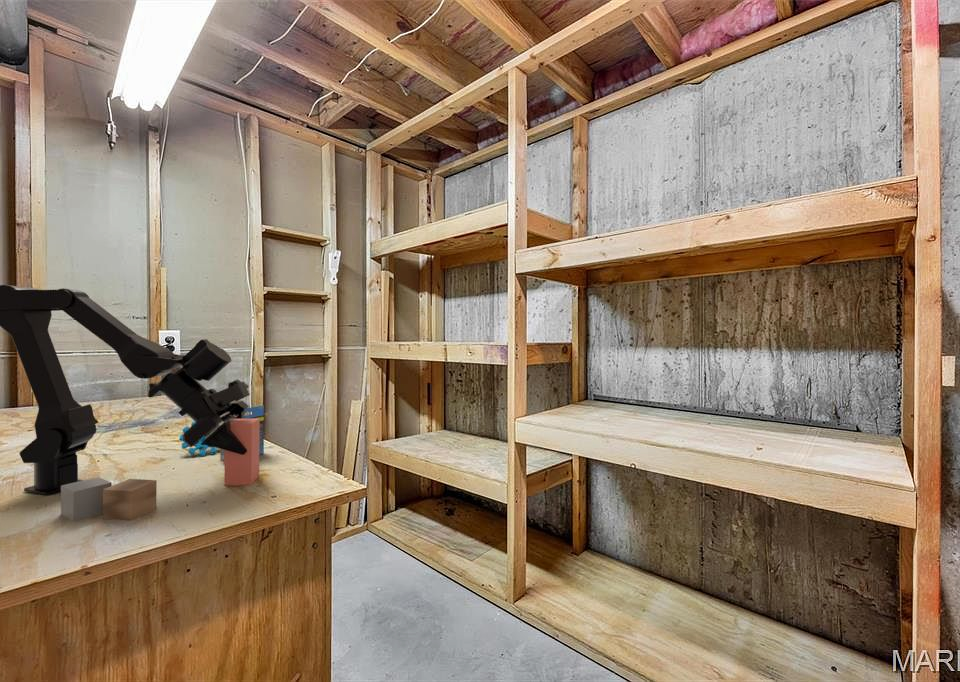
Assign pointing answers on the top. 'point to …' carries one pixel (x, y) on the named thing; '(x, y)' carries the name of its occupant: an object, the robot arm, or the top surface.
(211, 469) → the top surface
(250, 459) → the red block
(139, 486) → the walnut cube
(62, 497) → the gray cube
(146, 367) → the robot arm
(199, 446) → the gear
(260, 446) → the label tape cartridge
